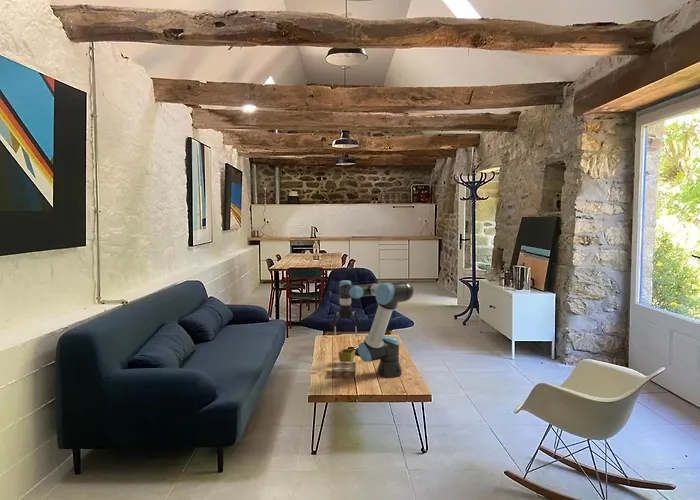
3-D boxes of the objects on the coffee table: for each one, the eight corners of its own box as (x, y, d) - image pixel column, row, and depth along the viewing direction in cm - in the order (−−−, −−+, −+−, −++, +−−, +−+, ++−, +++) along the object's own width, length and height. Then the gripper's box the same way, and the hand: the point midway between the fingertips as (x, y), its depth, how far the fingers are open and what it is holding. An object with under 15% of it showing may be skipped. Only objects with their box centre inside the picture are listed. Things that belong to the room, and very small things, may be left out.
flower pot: (343, 361, 326) (343, 348, 325) (355, 363, 323) (355, 349, 323) (338, 365, 318) (338, 352, 317) (351, 367, 315) (350, 353, 314)
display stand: (355, 370, 308) (355, 361, 308) (355, 377, 294) (355, 368, 294) (333, 370, 309) (333, 361, 308) (332, 377, 295) (332, 368, 294)
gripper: (364, 303, 320) (364, 334, 322) (326, 303, 320) (326, 335, 322) (364, 305, 313) (365, 337, 314) (326, 305, 313) (326, 338, 314)
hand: (345, 336), depth 318 cm, fingers open, 13 cm apart
